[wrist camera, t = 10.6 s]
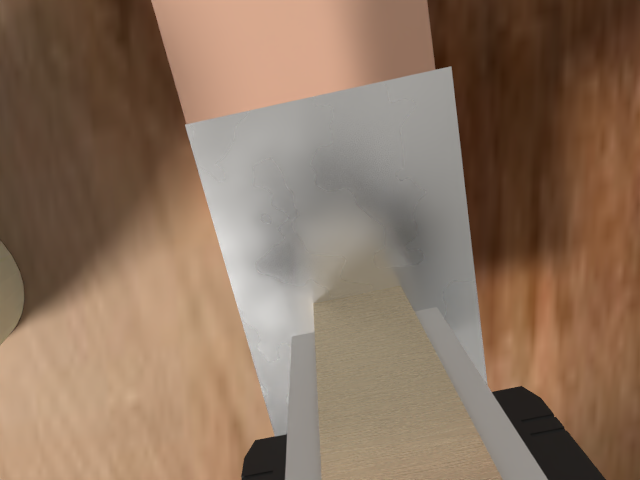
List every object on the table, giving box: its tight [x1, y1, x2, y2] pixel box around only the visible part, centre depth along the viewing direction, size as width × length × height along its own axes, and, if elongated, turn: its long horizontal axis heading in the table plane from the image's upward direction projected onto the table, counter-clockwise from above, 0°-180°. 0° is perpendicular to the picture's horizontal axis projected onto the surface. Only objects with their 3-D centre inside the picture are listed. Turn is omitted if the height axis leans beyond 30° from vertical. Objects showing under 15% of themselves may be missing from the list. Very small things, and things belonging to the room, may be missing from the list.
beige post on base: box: [185, 67, 503, 480], centre depth 12 cm, size 16×8×10 cm, turn 12°
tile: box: [151, 0, 435, 124], centre depth 22 cm, size 2×12×12 cm
